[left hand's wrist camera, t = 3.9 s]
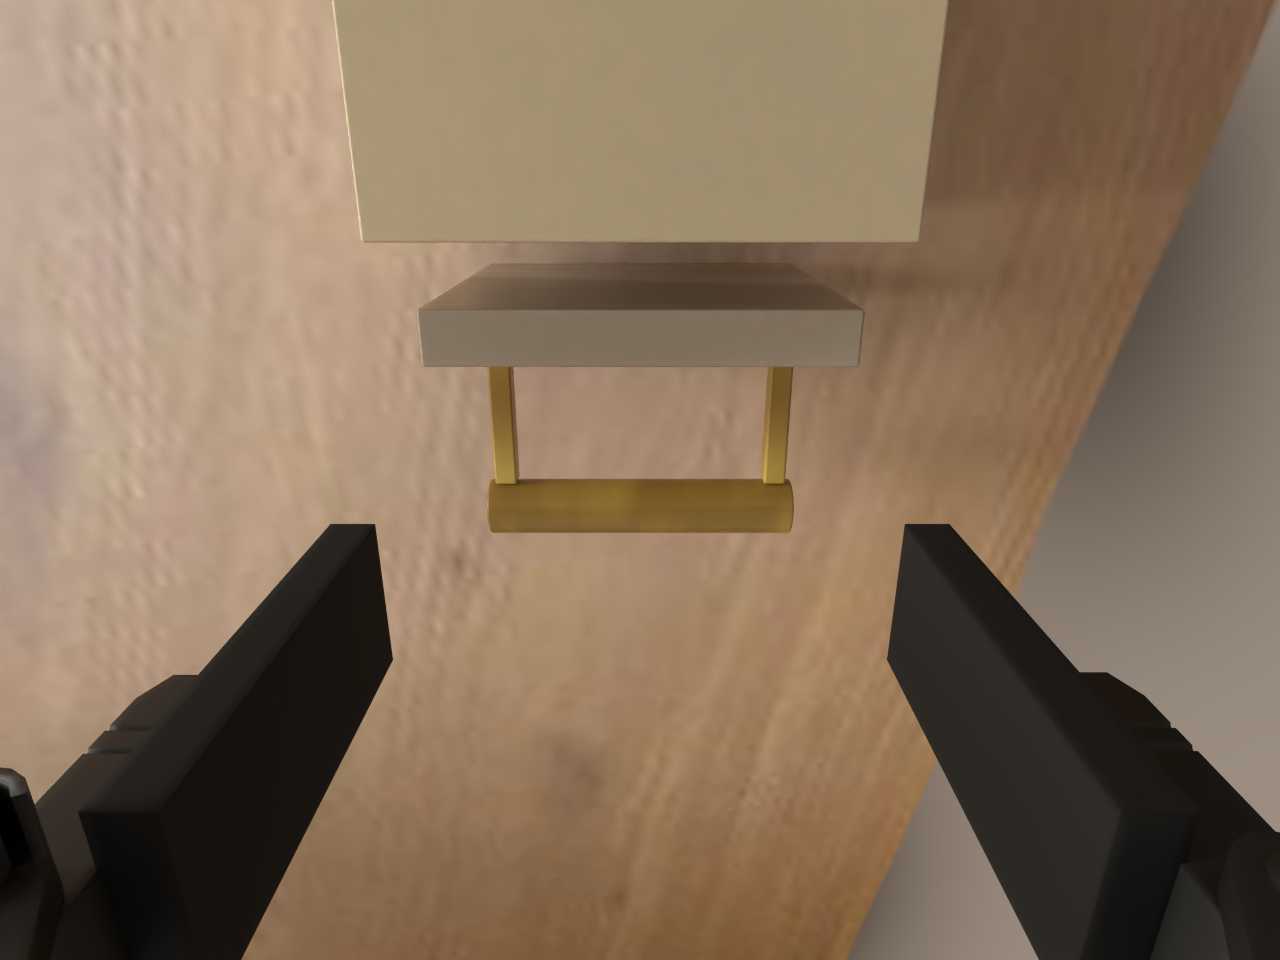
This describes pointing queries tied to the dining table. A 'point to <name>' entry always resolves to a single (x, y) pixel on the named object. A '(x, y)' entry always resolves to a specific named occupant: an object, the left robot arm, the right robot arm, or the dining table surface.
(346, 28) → the cabinet
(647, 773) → the dining table surface
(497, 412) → the drawer
